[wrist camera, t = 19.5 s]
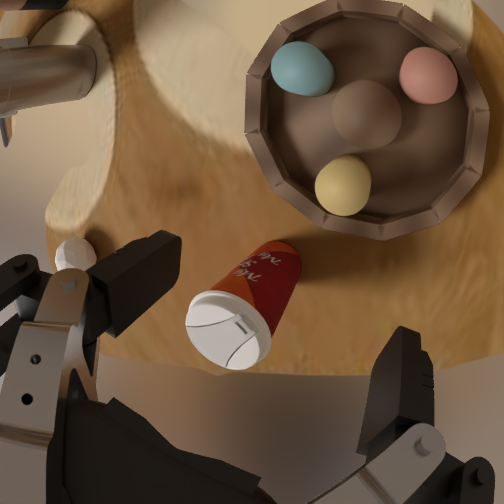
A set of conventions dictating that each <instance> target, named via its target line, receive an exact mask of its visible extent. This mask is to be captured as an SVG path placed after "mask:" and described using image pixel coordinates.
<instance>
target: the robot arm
mask: <svg viewBox="0 0 504 504" xmlns="http://www.w3.org/2000/svg"><path fill="white" fill-rule="evenodd" d="M95 72H96V59H95V55H94V52H93V50H92V49H91V48H90V47H89V46H87V45H39V46H23V47H12V48H4V49H0V114H3V113H7V112H11V111H16V110H20V109H25V108H30V107H36V106H41V105H46V104H53V103H60V102H66V101H73V100H79V99H81V98H83V97H84V96H85V95H86V94H87V93H88V92H89V90H90V88H91V86H92V84H93V81H94V77H95ZM181 246H182V240H181V238H180V237H179V236H177V235H174V234H172V233H169V232H167V231H164V230H160V231H158V232H156V233H154V234H153V235H151V236H150V237H148V238H147V237H145V238H141V239H137V240H134V241H131V242H130V243H128V244H127V245H125V246H123V247H122V249H121V248H120V249H118V250H117V251H115V252H114V254H113V253H112V254H110V255H109V256H107V257H106V258H104V259H102V260H101V261H99V262H98V263H96V264H95V265H93V266H91V267H90V268H88V269H87V270H85V271H83V270H81V269H77V268H66V269H62V270H60V271H58V272H56V273H55V274H50V273H47V272H43V271H40V269H39V265H38V260H37V258H36V257H34V256H33V255H30V254H22V255H18V256H15V257H13V258H11V259H10V260H8V261H6V262H5V263H3V264H2V265H0V311H1V310H3V308H5V307H6V306H7V305H9V304H10V303H11V302H14V304H15V307H16V310H17V313H16V314H15V315H14V316H13V317H11V318H10V319H9V320H8V321H6V322H5V323H4V324H3V325H2V326H0V377H1V376H2V375H3V374H4V373H5V372H6V374H5V378H4V381H3V385H2V390H1V394H0V504H277V503H276V502H275V501H274V499H273V498H272V497H271V496H270V495H268V494H267V493H266V492H265V491H264V490H263V489H261V488H260V487H258V486H257V485H258V483H259V481H260V479H261V477H259V476H256V475H254V474H251V473H249V472H246V471H244V470H242V469H239V468H237V467H235V466H232V465H230V464H228V463H226V462H224V461H222V460H218V459H213V458H209V457H205V456H201V455H197V454H193V453H190V452H186V451H182V450H179V449H177V448H175V447H174V446H173V445H171V444H170V443H169V442H168V441H167V440H166V439H165V438H164V437H163V436H162V435H161V434H160V433H159V432H158V431H157V430H156V429H155V428H154V427H153V426H152V425H151V424H150V423H149V422H148V421H147V420H146V419H145V418H144V417H142V416H141V415H139V414H137V413H136V412H134V411H133V410H132V409H130V408H129V407H127V406H125V405H124V404H122V403H121V402H119V401H118V400H117V399H115V398H114V397H113V398H112V399H111V400H110V402H109V403H108V404H105V403H102V402H98V396H97V389H96V379H97V367H98V357H99V348H100V335H101V334H102V333H104V332H106V333H108V334H109V335H111V336H112V337H114V338H116V337H118V336H119V335H120V334H121V333H122V332H123V331H124V330H125V329H126V328H128V327H129V326H130V325H131V324H132V323H133V322H134V321H135V320H136V319H137V318H139V317H140V316H141V315H142V314H143V313H144V312H145V311H146V310H148V309H149V308H150V307H151V306H152V305H153V304H154V303H155V302H157V301H158V300H159V299H160V298H161V297H162V296H163V295H164V294H166V293H167V292H168V291H169V290H170V289H171V288H172V287H173V286H174V285H175V283H176V281H177V279H178V276H179V272H180V258H181ZM433 388H434V380H433V364H432V362H431V360H430V357H429V355H428V353H427V352H426V351H423V350H421V336H420V333H419V332H416V331H413V330H411V329H408V328H405V327H403V326H399V327H398V328H397V329H396V330H395V332H394V333H393V335H392V336H391V338H390V339H389V341H388V342H387V344H386V345H385V347H384V348H383V350H382V351H381V353H380V354H379V356H378V357H377V359H376V361H375V364H374V366H373V369H372V373H371V379H370V386H369V392H368V398H367V403H366V409H365V414H364V419H363V424H362V428H361V433H360V438H359V442H358V446H357V450H356V453H359V454H363V455H366V456H367V457H366V462H365V464H364V465H362V466H361V467H360V468H358V469H357V470H356V471H354V472H353V473H352V474H350V475H349V476H347V477H346V478H345V479H343V480H342V481H340V482H339V483H337V484H336V485H334V486H333V487H331V488H330V489H329V490H327V491H325V492H324V493H322V494H320V495H319V496H318V497H316V498H314V499H312V500H311V501H309V502H307V503H305V504H493V502H494V489H495V474H494V470H493V467H492V466H491V464H490V463H489V461H487V460H486V459H484V458H482V457H474V458H472V459H470V460H469V461H467V462H466V463H463V462H462V461H460V460H458V459H457V458H455V457H453V456H452V455H450V454H448V453H447V452H446V447H445V446H446V445H445V441H444V438H443V436H442V435H441V433H440V432H439V431H438V430H437V429H436V428H435V427H434V390H433Z"/></svg>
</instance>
